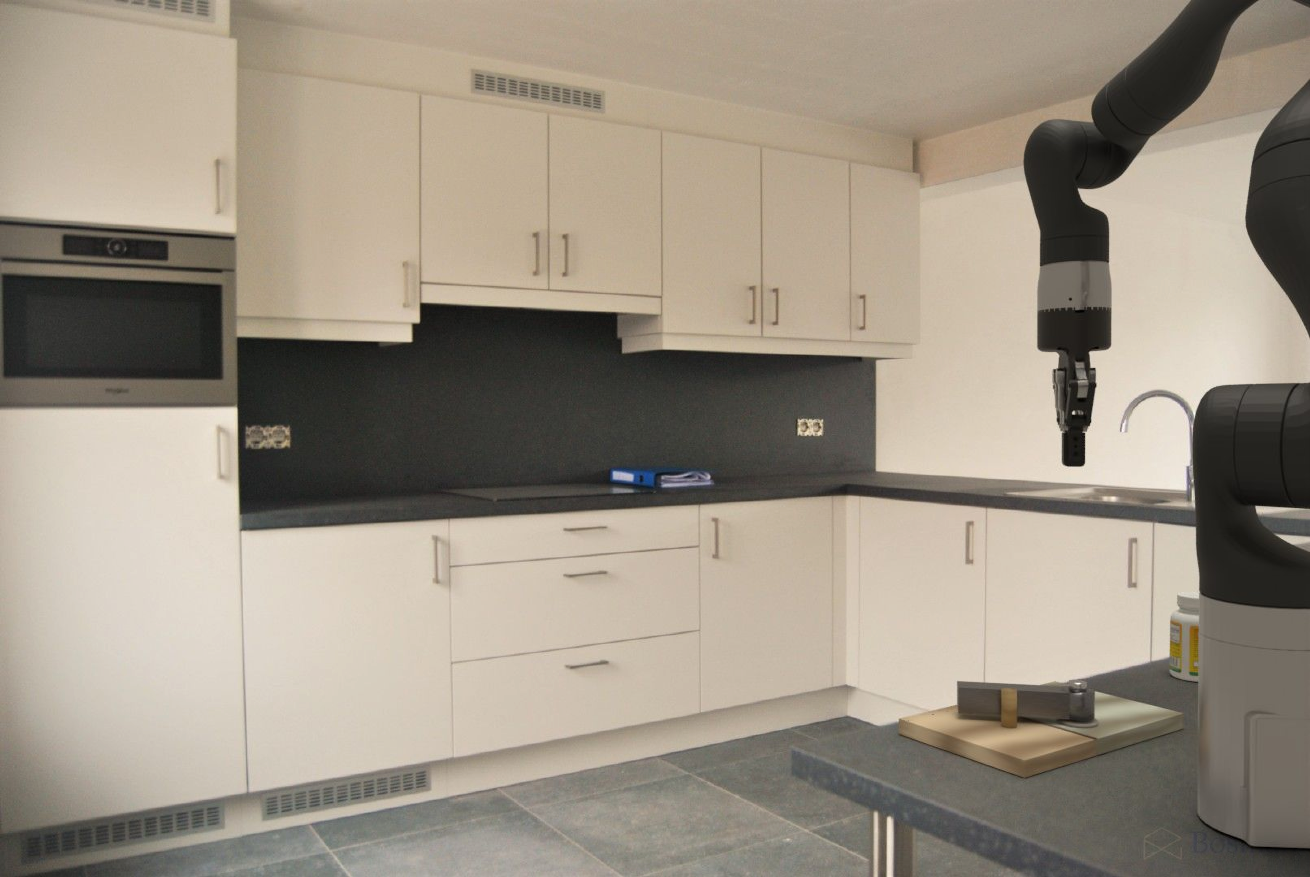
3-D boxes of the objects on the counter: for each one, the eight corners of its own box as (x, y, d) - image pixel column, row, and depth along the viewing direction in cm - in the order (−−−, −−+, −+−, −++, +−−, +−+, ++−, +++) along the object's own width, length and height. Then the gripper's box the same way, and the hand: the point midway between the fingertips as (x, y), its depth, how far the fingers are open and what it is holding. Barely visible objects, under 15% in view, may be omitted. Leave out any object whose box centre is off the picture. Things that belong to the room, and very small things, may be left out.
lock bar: (1091, 712, 101) (1091, 678, 101) (1097, 721, 98) (1097, 686, 98) (956, 705, 104) (956, 672, 104) (958, 714, 101) (958, 680, 101)
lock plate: (1183, 728, 103) (1183, 678, 102) (1024, 777, 89) (1024, 720, 89) (1055, 694, 115) (1055, 650, 115) (898, 733, 102) (898, 683, 101)
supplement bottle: (1161, 676, 122) (1161, 594, 122) (1182, 668, 125) (1182, 588, 125) (1209, 685, 118) (1210, 600, 118) (1229, 677, 121) (1230, 595, 121)
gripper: (1030, 313, 121) (1029, 462, 122) (1045, 302, 108) (1045, 470, 109) (1099, 311, 120) (1098, 463, 120) (1123, 300, 107) (1122, 470, 107)
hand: (1073, 466), depth 115 cm, fingers closed
